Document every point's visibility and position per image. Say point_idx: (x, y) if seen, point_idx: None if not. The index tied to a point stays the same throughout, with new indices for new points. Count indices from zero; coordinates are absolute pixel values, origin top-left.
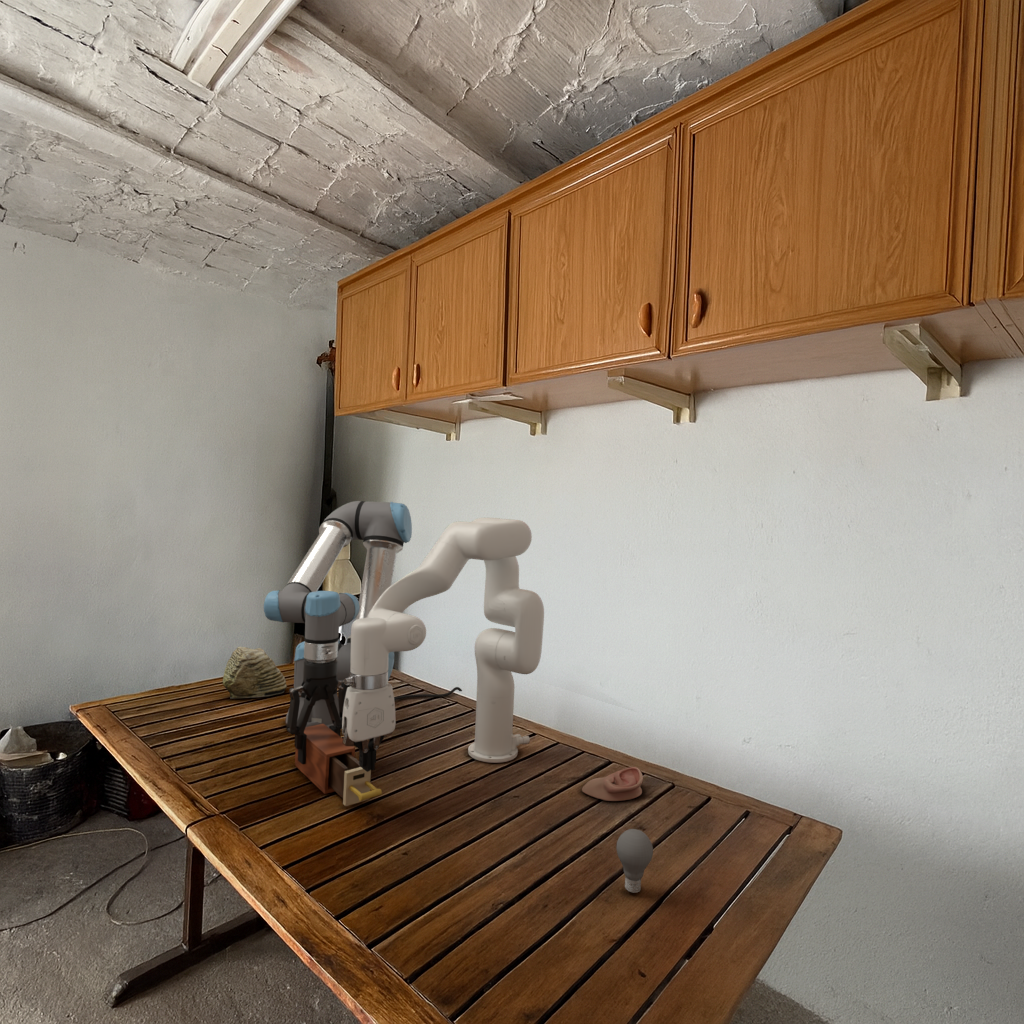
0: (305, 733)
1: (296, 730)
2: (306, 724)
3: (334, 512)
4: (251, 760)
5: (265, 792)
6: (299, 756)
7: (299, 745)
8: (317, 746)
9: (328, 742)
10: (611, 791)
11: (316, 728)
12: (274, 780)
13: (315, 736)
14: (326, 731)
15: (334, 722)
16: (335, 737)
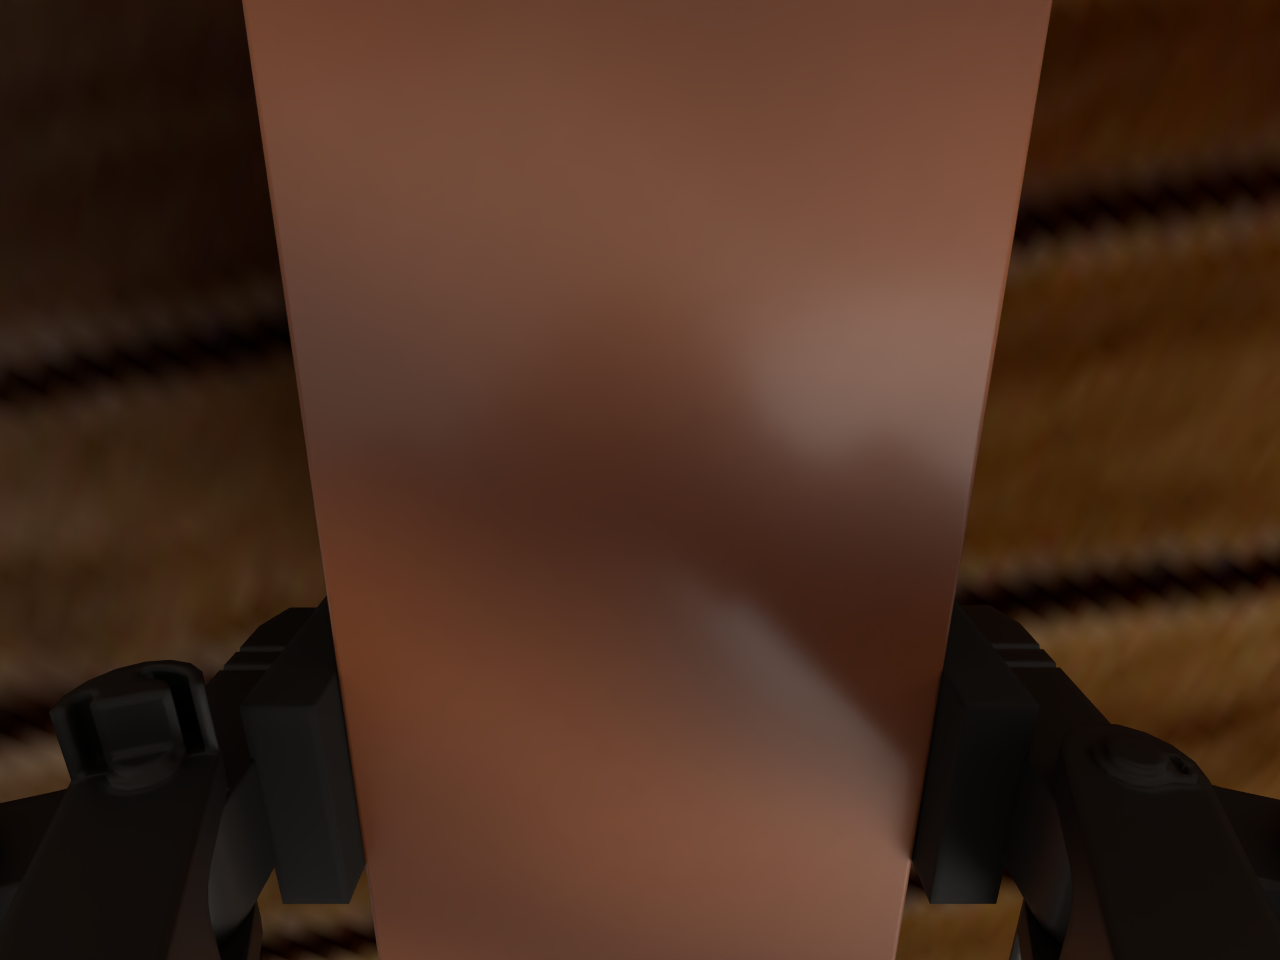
0: (856, 847)
1: (1255, 860)
2: (1111, 930)
3: None
4: (991, 942)
5: (1272, 310)
6: None
7: (991, 635)
8: (1030, 68)
9: (685, 161)
10: None
11: (583, 943)
12: (1059, 513)
13: (771, 637)
14: (474, 749)
15: (219, 907)
16: (416, 370)
